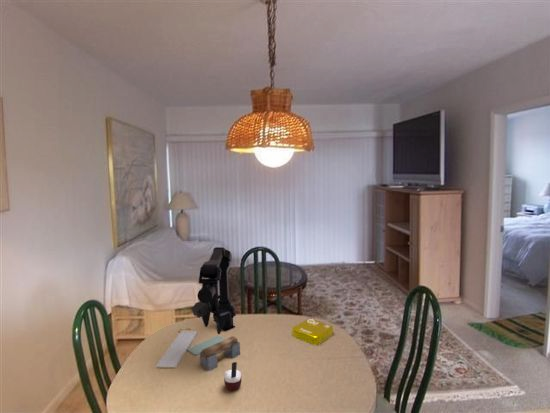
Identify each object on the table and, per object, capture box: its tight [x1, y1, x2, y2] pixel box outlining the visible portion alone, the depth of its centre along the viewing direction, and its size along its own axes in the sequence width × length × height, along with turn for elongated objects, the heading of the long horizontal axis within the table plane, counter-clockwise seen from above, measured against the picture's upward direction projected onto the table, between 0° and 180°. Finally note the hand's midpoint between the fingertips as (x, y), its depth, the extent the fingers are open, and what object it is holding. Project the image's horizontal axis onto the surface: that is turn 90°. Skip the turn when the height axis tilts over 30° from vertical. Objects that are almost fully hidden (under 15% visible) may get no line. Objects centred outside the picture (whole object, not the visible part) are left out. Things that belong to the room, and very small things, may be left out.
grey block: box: [223, 341, 241, 359], centre depth 145 cm, size 4×6×6 cm, turn 46°
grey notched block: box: [199, 351, 218, 372], centre depth 136 cm, size 4×6×6 cm, turn 46°
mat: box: [186, 335, 226, 357], centre depth 153 cm, size 17×7×1 cm, turn 136°
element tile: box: [291, 318, 334, 346], centre depth 161 cm, size 15×15×5 cm
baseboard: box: [154, 328, 198, 370], centre depth 150 cm, size 30×3×10 cm
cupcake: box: [223, 361, 242, 391], centre depth 122 cm, size 10×6×12 cm, turn 175°
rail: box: [202, 335, 239, 360], centre depth 140 cm, size 16×3×3 cm, turn 136°
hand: (212, 330), depth 141 cm, fingers open, 9 cm apart
